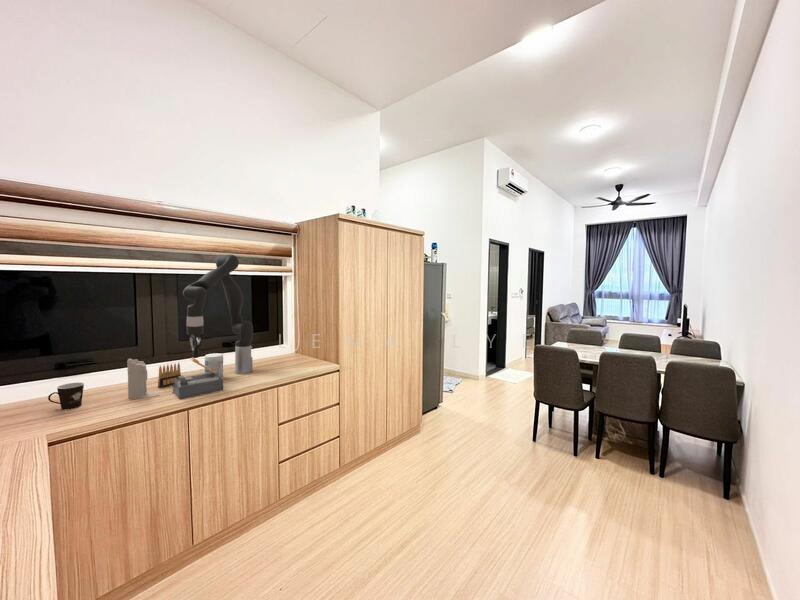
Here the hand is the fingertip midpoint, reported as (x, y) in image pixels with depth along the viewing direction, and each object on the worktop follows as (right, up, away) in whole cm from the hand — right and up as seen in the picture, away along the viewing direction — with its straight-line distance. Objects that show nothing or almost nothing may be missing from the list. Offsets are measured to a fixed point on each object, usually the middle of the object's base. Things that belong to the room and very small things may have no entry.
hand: (195, 357), depth 171 cm
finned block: (0, -18, +2) cm, 18 cm away
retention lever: (+2, -6, +3) cm, 7 cm away
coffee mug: (-44, -19, -24) cm, 53 cm away
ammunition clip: (-20, -17, +10) cm, 28 cm away
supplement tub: (-3, -17, +22) cm, 28 cm away
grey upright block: (-21, -18, -6) cm, 29 cm away
